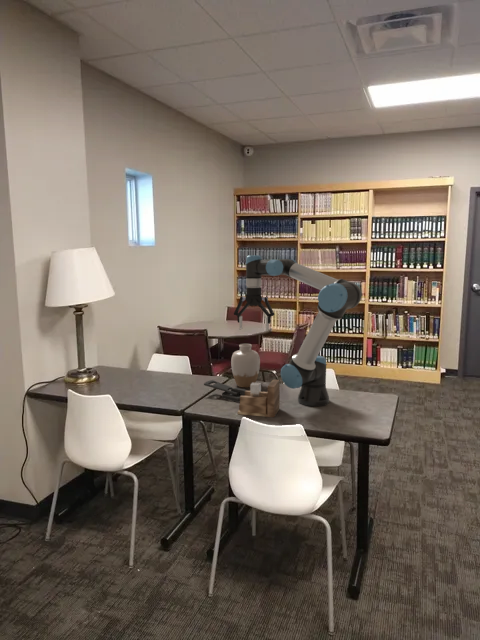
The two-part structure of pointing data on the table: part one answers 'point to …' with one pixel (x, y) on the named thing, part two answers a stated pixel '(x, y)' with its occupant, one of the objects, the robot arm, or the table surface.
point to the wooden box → (261, 402)
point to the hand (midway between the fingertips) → (254, 329)
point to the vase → (245, 366)
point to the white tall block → (255, 389)
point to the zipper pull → (227, 391)
